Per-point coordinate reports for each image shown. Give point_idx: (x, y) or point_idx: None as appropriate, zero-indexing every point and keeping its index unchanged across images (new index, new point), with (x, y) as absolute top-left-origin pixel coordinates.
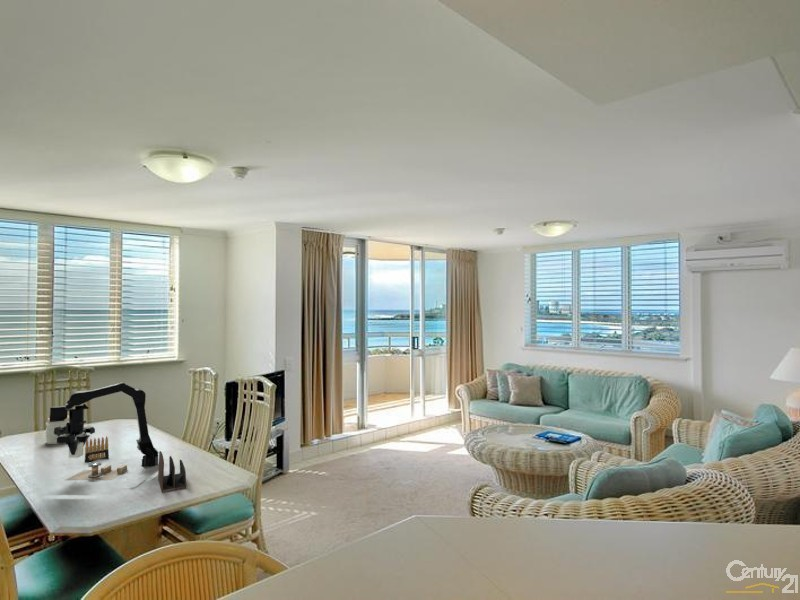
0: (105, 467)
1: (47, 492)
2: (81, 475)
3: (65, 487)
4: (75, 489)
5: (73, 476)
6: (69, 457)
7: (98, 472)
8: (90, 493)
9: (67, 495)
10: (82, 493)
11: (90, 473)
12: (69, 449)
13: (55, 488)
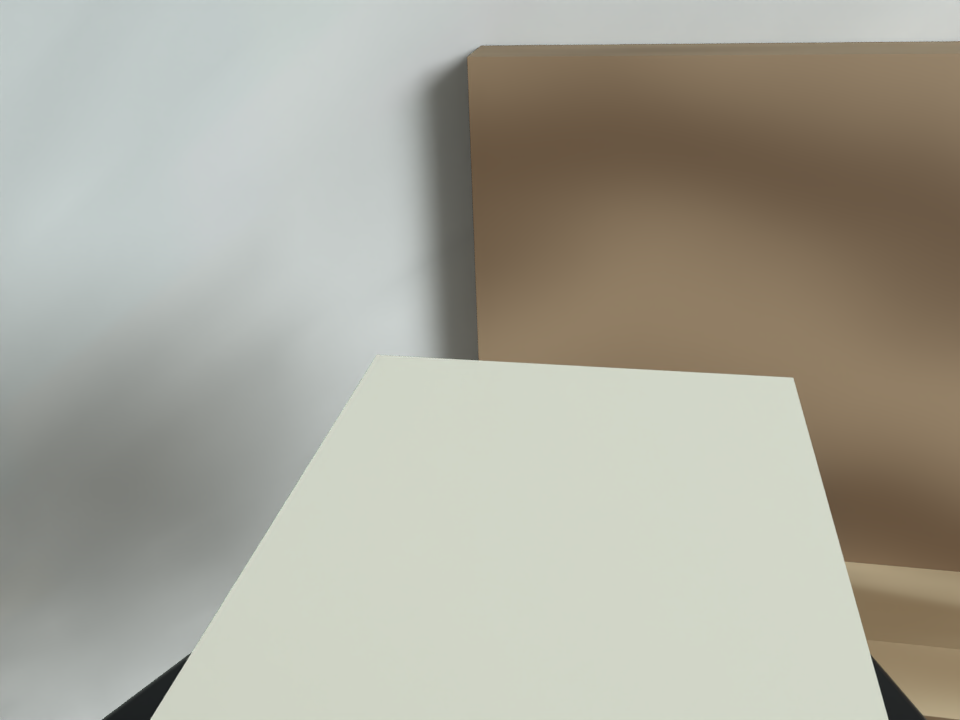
0: (908, 696)
1: (21, 54)
2: (774, 255)
3: (283, 219)
4: (227, 429)
5: (715, 112)
6: (379, 379)
7: (932, 495)
8: (142, 662)
9: (16, 446)
10: (120, 582)
11: (894, 372)
12: (212, 651)
13: (211, 61)
